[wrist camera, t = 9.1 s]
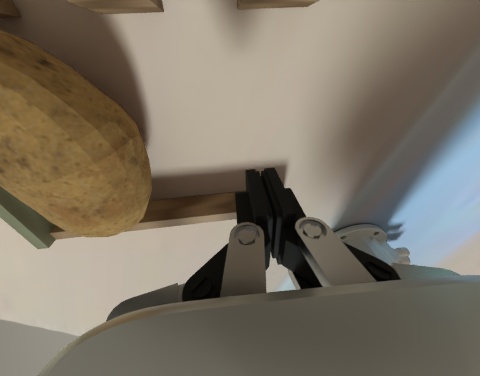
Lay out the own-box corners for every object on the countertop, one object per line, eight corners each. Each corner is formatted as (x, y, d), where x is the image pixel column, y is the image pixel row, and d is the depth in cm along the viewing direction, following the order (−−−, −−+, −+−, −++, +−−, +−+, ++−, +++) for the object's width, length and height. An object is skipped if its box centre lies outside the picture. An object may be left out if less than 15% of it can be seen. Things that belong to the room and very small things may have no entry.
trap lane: (309, -14, 12) (348, -42, 9) (283, 193, 23) (295, 219, 19) (-121, -2, 11) (-293, -31, 7) (67, 216, 21) (37, 249, 18)
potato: (97, 8, 12) (-41, -46, 5) (183, 179, 20) (169, 237, 14) (-40, 48, 12) (-318, 42, 6) (101, 200, 21) (51, 266, 14)
